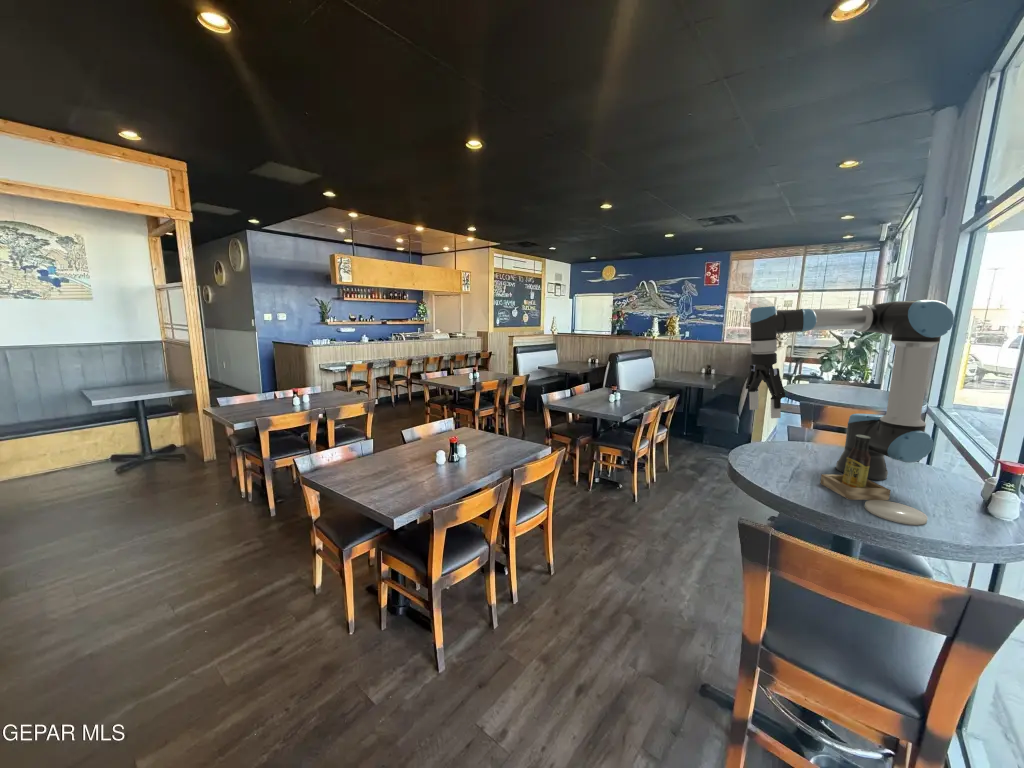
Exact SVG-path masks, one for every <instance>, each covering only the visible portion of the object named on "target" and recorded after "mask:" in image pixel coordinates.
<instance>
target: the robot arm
mask: <svg viewBox="0 0 1024 768" xmlns="http://www.w3.org/2000/svg"><path fill="white" fill-rule="evenodd" d="M749 317H750V318H749V323H750V344H749V346H750V353H751V354H750V364H751V365H749V371H748V376H747V379H746V383H745V389H746V390H747V391H748V395H749V411H755V410H759V387H760V384H761V382H762V381H763V382H764V383H765V384H766V386H767V389H768V392H769V393H770V395H771V396H770V418H771V419H781V417H782V415H781V411H782V410H781V409H782V402H781V399H784V398H785V399H786V396H787V395H786V393H785V388H784V386H783V382H782V378H781V375H780V369H779V368H778V367H776V368H774V367H773V366H774V365H775V364H777V361H778V355H777V353H776V352H777V351H778V347H777V345H778V344H777V343H778V341H777V339H778V338H777V337H778V336H777V335H780V334H790V333H803V332H809V331H829V330H830V331H831V330H832V331H833V330H835V331H837V330H839V331H840V330H854V331H856V332H858V333H867V332H868V333H876V334H881V335H882V334H883V335H891V337H890V342H891V343H892V344H893V345H894V346H895V352H894V359H893V366H892V372H891V380H890V386H889V392H888V401H887V407H886V412H885V414H874V413H873V414H872V413H852V414H851V415H850V416H849V419H848V422H847V427H846V428H847V430H846V434H845V435H846V436H845V442H844V444H845V445H844V449H843V451H842V453H841V455H840V457H839V459H838V460H837V462H836V465H835V469H836V470H838V471H839V472H840V473H842V474H844V469H845V464H846V459H847V456H848V455H849V453H850V452H851V450H852V448H853V447H854V443H855V435H865V436H869V437H871V441H870V442H869V447H868V452H869V454H870V456H871V460H870V467H869V472H868V477H867V479H868V480H871V481H874V480H876V481H879V480H880V481H881V480H886V479H887V478H888V475H889V471H888V468H887V463H886V460H885V456H886V457H888V458H890V459H892V460H894V461H899V462H902V463H916V462H919V461H921V460H923V459H924V458H926V457H928V455H929V454H930V453H931V452H932V449H933V446H934V440H933V438H932V436H931V435H930V434H929V433H927V432H926V426H927V423H926V422H925V421H924V420H922V418H921V417H922V411H923V405H924V397H925V391H926V386H927V378H928V373H929V367H930V360H931V354H932V348H933V347H934V346H936V345H937V344H940V340H941V337H942V336H944V335H946V334H948V332H949V331H950V330H951V329H952V328H953V326H954V321H955V318H954V317H955V316H954V313H953V310H952V309H951V308H950V307H949V306H948V305H947V304H946V303H945V302H942V301H940V300H934V299H933V300H931V299H930V300H929V299H921V300H919V299H918V300H897V301H889V302H882V303H875V304H861V305H859V306H857V307H852V308H850V307H849V308H812V309H811V308H798V309H779V310H778V309H777V307H776V306H775V305H771V306H762V307H761V306H760V307H753V308H751V310H750V316H749Z"/></svg>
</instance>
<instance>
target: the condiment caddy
mask: <svg viewBox="0 0 1024 768" xmlns="http://www.w3.org/2000/svg"><path fill="white" fill-rule="evenodd" d="M842 480H843V474H833V473H832V474H831V473H830V474H825V473H823V474H821V476H820V481H819V482H820V485H822V486H824V487H826V488H827V489H830V490H831V491H833V492H834V493H835V494H836V493H837V494H838V495H839V496H842V497H843V498H845V499H847V500H851V501H852V500H856V501H858V500H860V501H861V500H862V501H863V500H865V501H868V500H884V501H890V496H891V489H889V488H886V487H885V486H883V485H880V484H879V483H876V482H874V481H873V480H871V479H867V482H866V487H865V488H851V487H849V486H847V485H845V484H843V483H842Z"/></svg>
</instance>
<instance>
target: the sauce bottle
mask: <svg viewBox="0 0 1024 768" xmlns="http://www.w3.org/2000/svg"><path fill="white" fill-rule="evenodd" d="M870 441H871V437H869V436H865V435H855V443H854V447H853V448H852V450H851V452H850V453H849V455H848V456H847V459H846V464H845V469H844V473H842V475H843V480H842V483H843V484H845V485H847V486H849V487H851V488H865V487H866V482H867V477H868V472H869V467H870V460H871V456H870V454H869V452H868V447H869V442H870Z"/></svg>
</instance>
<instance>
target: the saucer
mask: <svg viewBox="0 0 1024 768" xmlns="http://www.w3.org/2000/svg"><path fill="white" fill-rule="evenodd" d="M864 508H865V510H866V511H868V512H869V513H870V514H872V515H874V516H876V517H878V518H881V519H884V520H887V521H889V522H890V521H891V522H894V523H898V524H902V525H903V524H904V525H910V526H923V525H926V524H927V522H928V516H927V514H925V513H924V512H922V511H921V510H919V509H917V508H914V507H912V506H909V505H906V504H902V503H898V502H894V501H890V500H865V503H864Z"/></svg>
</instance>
